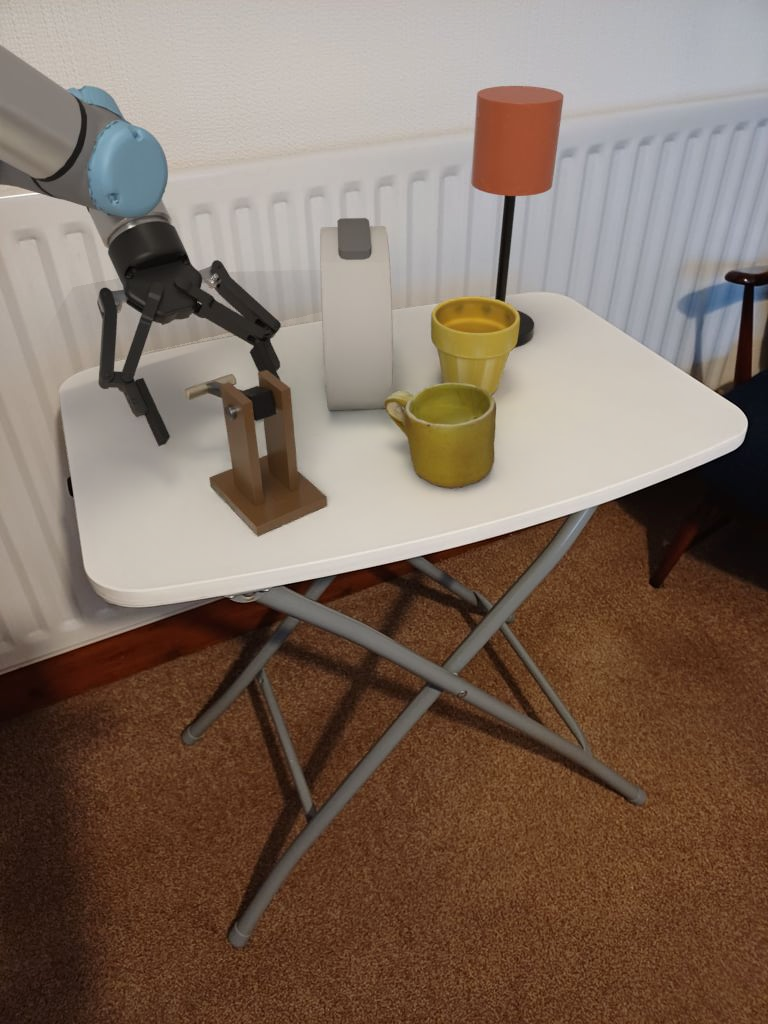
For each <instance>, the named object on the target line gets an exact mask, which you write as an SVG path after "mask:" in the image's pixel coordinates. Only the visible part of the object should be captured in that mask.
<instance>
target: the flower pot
mask: <svg viewBox="0 0 768 1024" xmlns="http://www.w3.org/2000/svg"><path fill="white" fill-rule="evenodd" d="M517 310H518V309H516V308H515V307H514V306H513V305H511V304H509V303H507V302H506V301H505V302H503V301H500V300H497V299H495V298H492V297H487V296H461V297H460V296H459V297H454V298H450V299H447V300H444V301H442V302H440V303H438V304H437V305H436V306H435V307H434V308H433V310H432V311H431V315H430V337H431V342H432V344H433V346H434V347H435V348H436V349H437V354H438V359H439V364H440V365H439V366H440V372H441V375H442V382H443V383H463V384H470V385H475V386H477V387H479V388H482V389H484V390H486V391H487V392H489V393H490V394H491V395H493V394H494V393H495V392H496V391H497V390H498V387H499V384H500V382H501V379H502V376H503V372H504V369H505V367H506V365H507V360H508V359H509V355H510V353H511V351H513V350H514V349H515V348H516V347H515V346H516V344H517V339H518V333H519V325H520V315H519V313H518V311H519V310H518V311H517Z"/></svg>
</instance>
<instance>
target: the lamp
mask: <svg viewBox="0 0 768 1024" xmlns="http://www.w3.org/2000/svg"><path fill="white" fill-rule="evenodd" d="M475 103H476V104H475V117H474V133H473V147H472V148H473V149H472V162H471V163H472V164H471V176H470V177H471V178H470V179H471V180H470V183H471V185H472V187H474V188H475V189H476V190H478V191H481V192H484V193H486V194H491V195H497V196H504V199H503V207H502V209H503V210H502V220H501V231H500V232H501V233H500V242H499V251H498V253H499V254H498V264H497V273H496V284H495V285H496V286H495V295H494V299H497V300H500V301H503V302H505V303H506V298H507V289H508V288H507V287H508V279H509V278H508V277H509V268H510V258H511V249H512V237H513V229H514V220H515V219H514V218H515V207H516V198H517V197H528V196H535V195H540V194H543V193H546V192H548V191H549V190H551V189H552V188H553V182H554V174H555V166H556V159H557V151H558V144H559V135H560V129H561V120H562V114H563V113H562V111H563V105H564V94H563V93H561V92H560V91H558V90H555V89H551V88H546V87H541V86H529V85H528V86H527V85H501V86H492V87H487V88H483V89H480V90H479V91H477V92H476V102H475ZM516 310H517V311H518V313H519V315H520V325H519V333H518V339H517V344H516V346H515V347H514V348H517V347H521V346H524V345H526V344H528V343H529V342H530V341H531V340H532V339H533V336H534V331H535V321H534V320H533V318H532V317H531V316H530V315H529V314H527V313H525V312H524V311H520V310H518V309H516Z"/></svg>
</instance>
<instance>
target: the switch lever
mask: <svg viewBox="0 0 768 1024" xmlns="http://www.w3.org/2000/svg"><path fill="white" fill-rule="evenodd" d="M228 382H230V383H231V384H232V385H233V386H235V385H237V379H236V377H235V375H234V374H233V373H230V374H226V375H224V376H220V377H217V378H214V379H210V380H207V381H204V382H202V383H199V384H196V385H191V386H189V387H186V388H183V393H184V396H185V399H186V400H187V401H191V400H193V399H196V398H199V397H202V396H205V395H208V394H209V395H212V396H214V397H218V398H220V399H222V396H221V389H220V385H222V384H225V383H228ZM237 389H238V390H239V391H241V392H242V393H243V394H244V395H245V396H246V397H248V398H249V399H250V400H251V401H252V404H253V413H254V421H255V422H258V421H259V422H260V421H261V420H263V419H264V418H267V417H270V416H272V415H275V414H276V409H275V405H274V401H273V397H272V393H271V390H269V389H266V388H263V387H260V386H259V385H256V386H252V387H250V388H247V389H243V390H242V389H240V388H237Z"/></svg>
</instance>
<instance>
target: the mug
mask: <svg viewBox="0 0 768 1024" xmlns="http://www.w3.org/2000/svg"><path fill="white" fill-rule="evenodd" d="M492 395H493V394H490V393H489V392H487V391H486V390H484V389H482V388H479V387H477V386H475V385H470V384H463V383H444V382H443V383H437V384H433V385H430V386H428V387H424V388H423V389H421V390H419V391H418V392H416V394H415V395H413V394H412V393H410V392H409V391H406V390H402V389H401V390H397V391H395V392H393V393H392V395H391V396H389V397H388V398H387V399H386V400H385V403H384V405H385V408H386V409H385V410H386V413H387V414H388V417H389V418H390V419H391V420H392V422H393V423H394V424H395V425H396V426H397V427H398V428H399V429H400V430H401V431H402V432H403V434H404V435H405V437H406V438H407V442H408V448H409V454H410V459H411V463H412V467H413V470H414V472H415V474H416V475H418V477H419V478H421V479H423V480H426V481H428V482H429V483H430V484H431V485H435V486H437V487H440V488H448V489H460V488H463V487H466V486H468V485H472V484H473V485H474V484H476V483H480V482H481V481H482V480H483V479H485V477H486V476H488V475H489V474H490V472H491V471H492V468H493V465H494V462H495V439H496V429H497V428H496V421H497V402H496V400H495V398H494V396H492Z"/></svg>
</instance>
